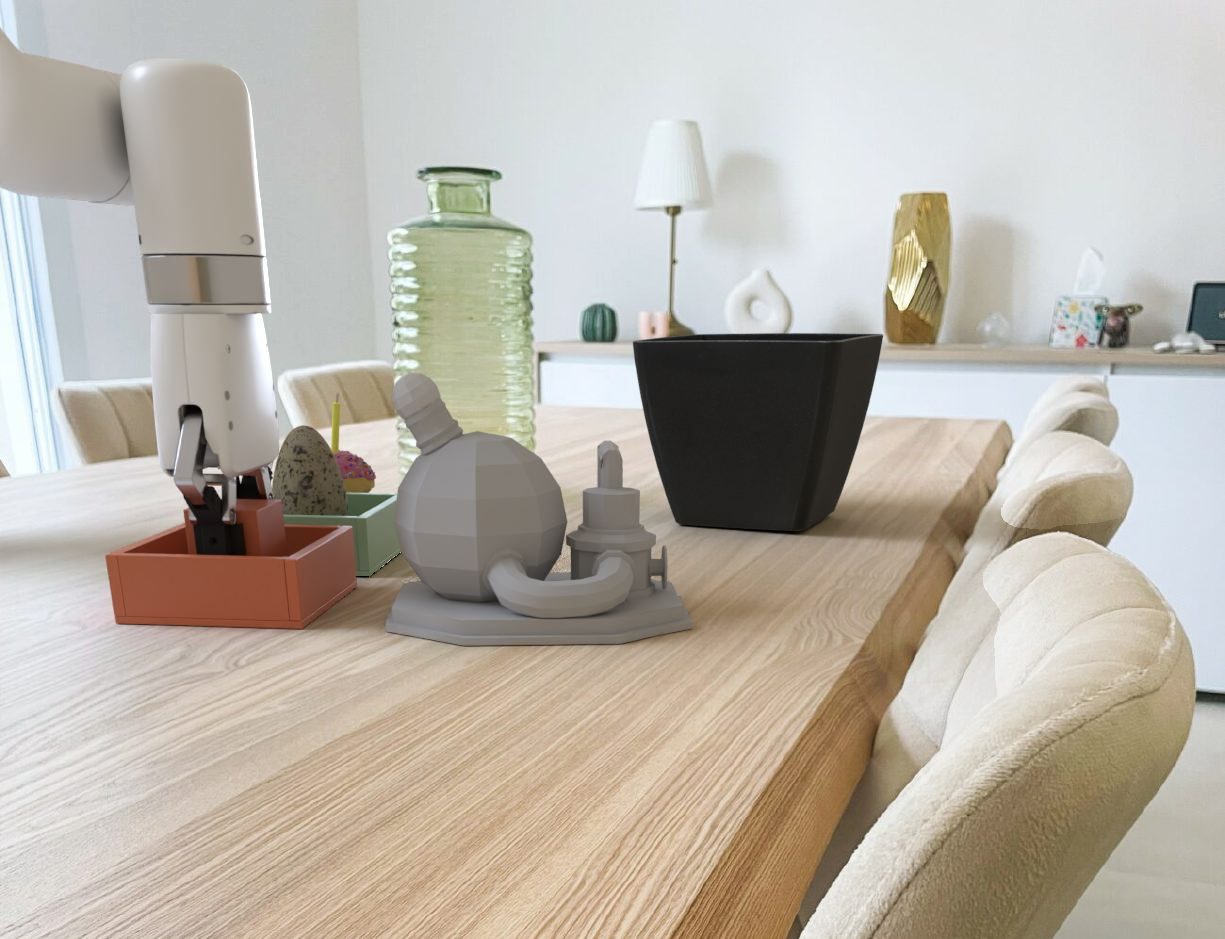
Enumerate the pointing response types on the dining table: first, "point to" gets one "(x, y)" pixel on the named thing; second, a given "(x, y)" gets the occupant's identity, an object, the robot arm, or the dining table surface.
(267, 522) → the terracotta block
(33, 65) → the robot arm
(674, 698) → the dining table surface
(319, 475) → the decorative egg
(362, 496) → the sage bin
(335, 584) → the terracotta bin
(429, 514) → the grey distillation still model
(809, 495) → the flower pot
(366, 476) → the donut with candle
